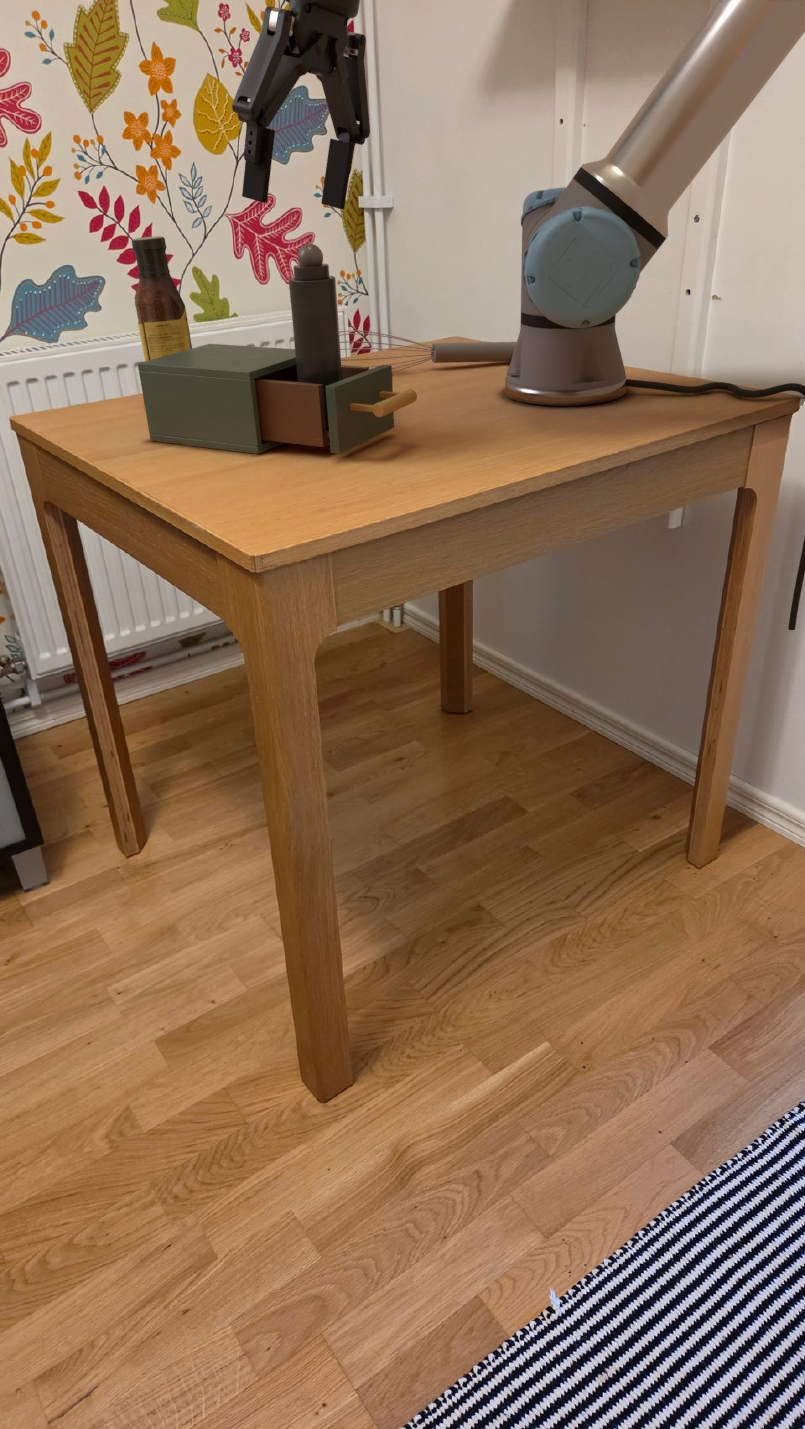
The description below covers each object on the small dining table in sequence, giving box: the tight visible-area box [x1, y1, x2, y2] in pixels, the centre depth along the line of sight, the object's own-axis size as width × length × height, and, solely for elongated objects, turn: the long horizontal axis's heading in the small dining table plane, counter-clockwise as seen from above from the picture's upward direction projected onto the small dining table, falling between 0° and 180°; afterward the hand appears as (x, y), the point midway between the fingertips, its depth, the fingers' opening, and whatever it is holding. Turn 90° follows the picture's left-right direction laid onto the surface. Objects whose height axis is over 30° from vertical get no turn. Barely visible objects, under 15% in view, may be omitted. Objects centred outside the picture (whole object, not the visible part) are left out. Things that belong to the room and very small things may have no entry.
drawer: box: [255, 364, 418, 455], centre depth 108 cm, size 19×11×7 cm, turn 60°
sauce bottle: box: [131, 235, 193, 362], centre depth 126 cm, size 7×6×20 cm
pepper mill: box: [288, 243, 342, 431], centre depth 105 cm, size 5×5×18 cm
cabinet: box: [137, 343, 296, 455], centre depth 113 cm, size 16×13×9 cm
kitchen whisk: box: [339, 329, 517, 373], centre depth 142 cm, size 6×34×6 cm, turn 104°
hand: (295, 203), depth 106 cm, fingers open, 13 cm apart
